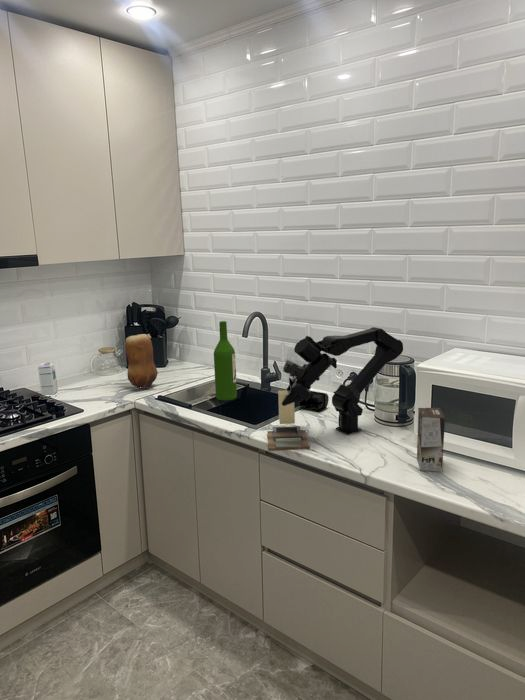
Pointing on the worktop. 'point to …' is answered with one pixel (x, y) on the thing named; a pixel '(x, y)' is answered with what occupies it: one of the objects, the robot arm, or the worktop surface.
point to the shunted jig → (287, 438)
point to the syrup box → (47, 379)
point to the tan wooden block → (286, 409)
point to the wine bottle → (225, 367)
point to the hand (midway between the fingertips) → (282, 402)
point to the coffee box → (430, 439)
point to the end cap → (315, 402)
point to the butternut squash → (140, 360)
